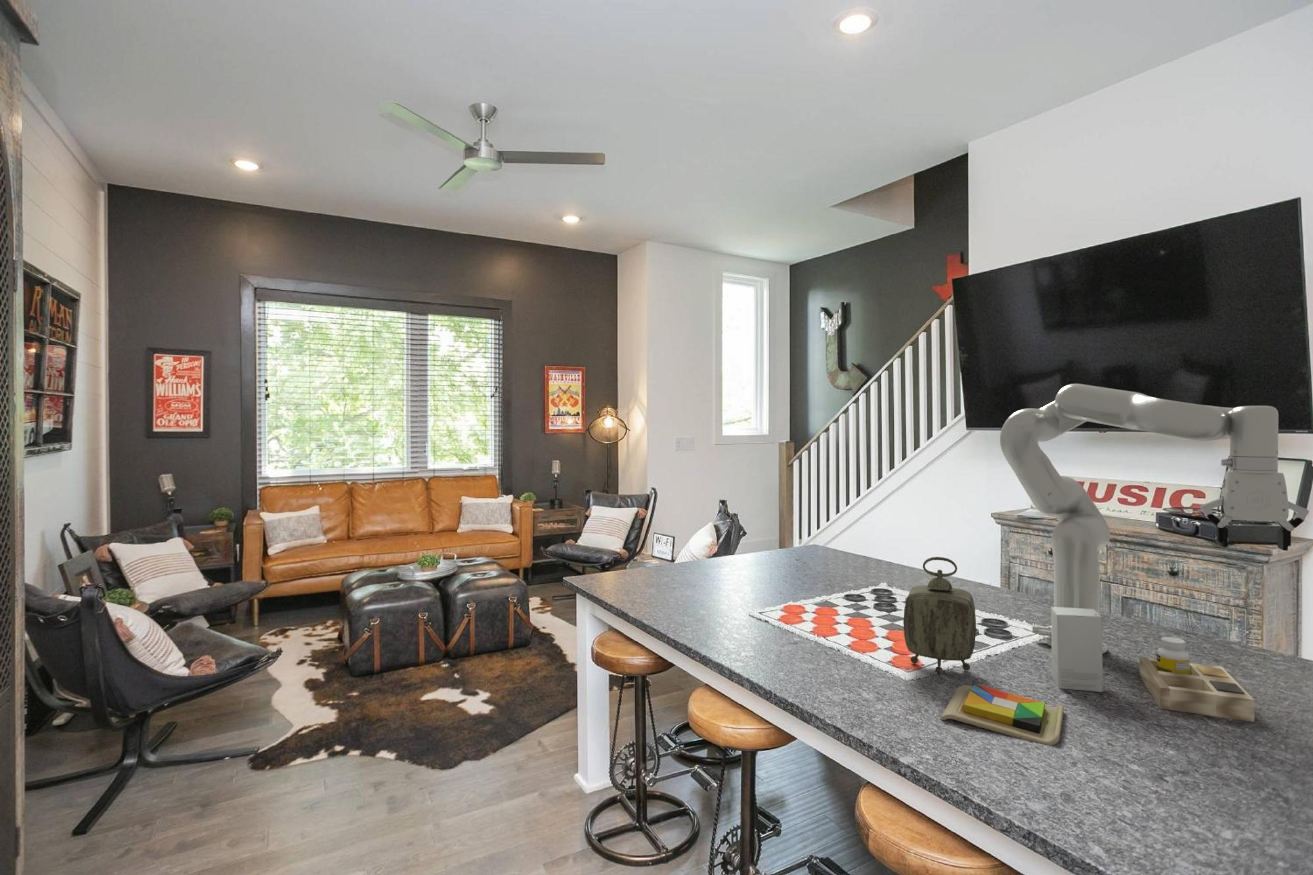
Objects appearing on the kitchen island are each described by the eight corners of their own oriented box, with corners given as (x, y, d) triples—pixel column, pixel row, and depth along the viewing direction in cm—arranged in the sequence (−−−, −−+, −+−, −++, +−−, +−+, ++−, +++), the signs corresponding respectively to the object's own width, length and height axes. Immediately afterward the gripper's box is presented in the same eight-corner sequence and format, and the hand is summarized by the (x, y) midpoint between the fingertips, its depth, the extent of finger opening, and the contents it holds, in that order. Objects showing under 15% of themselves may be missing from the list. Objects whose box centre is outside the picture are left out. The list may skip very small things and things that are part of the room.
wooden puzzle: (1059, 750, 114) (1059, 729, 114) (939, 724, 125) (939, 705, 125) (1064, 713, 129) (1064, 695, 129) (956, 693, 139) (956, 675, 139)
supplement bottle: (1150, 682, 143) (1150, 635, 143) (1176, 682, 143) (1176, 635, 143) (1168, 692, 138) (1169, 643, 138) (1196, 692, 138) (1196, 643, 138)
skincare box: (1095, 682, 143) (1095, 608, 143) (1104, 694, 137) (1104, 616, 137) (1049, 677, 146) (1050, 605, 146) (1056, 689, 140) (1057, 613, 139)
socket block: (1160, 708, 130) (1160, 685, 130) (1139, 675, 147) (1139, 655, 147) (1254, 721, 124) (1254, 698, 124) (1221, 686, 141) (1221, 665, 141)
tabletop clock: (975, 669, 151) (976, 556, 151) (975, 683, 143) (976, 563, 142) (906, 660, 157) (906, 551, 157) (902, 673, 149) (902, 558, 149)
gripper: (1206, 465, 142) (1205, 547, 142) (1316, 467, 135) (1315, 554, 135) (1196, 463, 149) (1195, 542, 149) (1300, 465, 142) (1299, 548, 142)
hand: (1252, 547), depth 142 cm, fingers open, 9 cm apart
